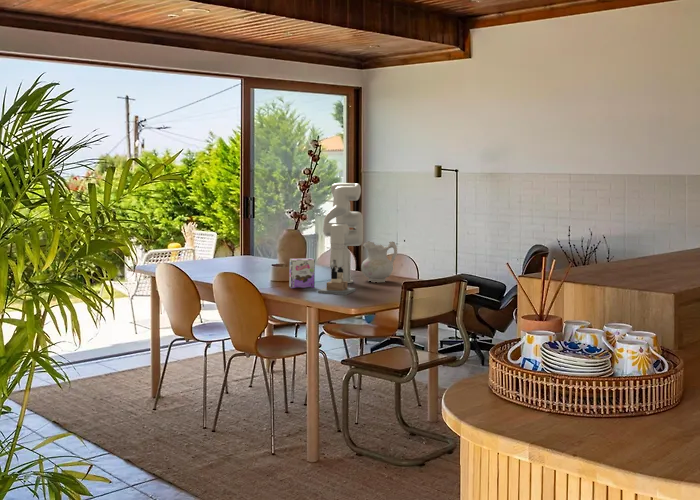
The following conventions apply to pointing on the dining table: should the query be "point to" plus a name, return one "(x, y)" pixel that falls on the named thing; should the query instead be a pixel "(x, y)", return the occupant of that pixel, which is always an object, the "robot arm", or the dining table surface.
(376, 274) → the ceramic pitcher
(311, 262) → the candy box
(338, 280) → the maple cube
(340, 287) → the grey brown stepped pedestal
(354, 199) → the robot arm
